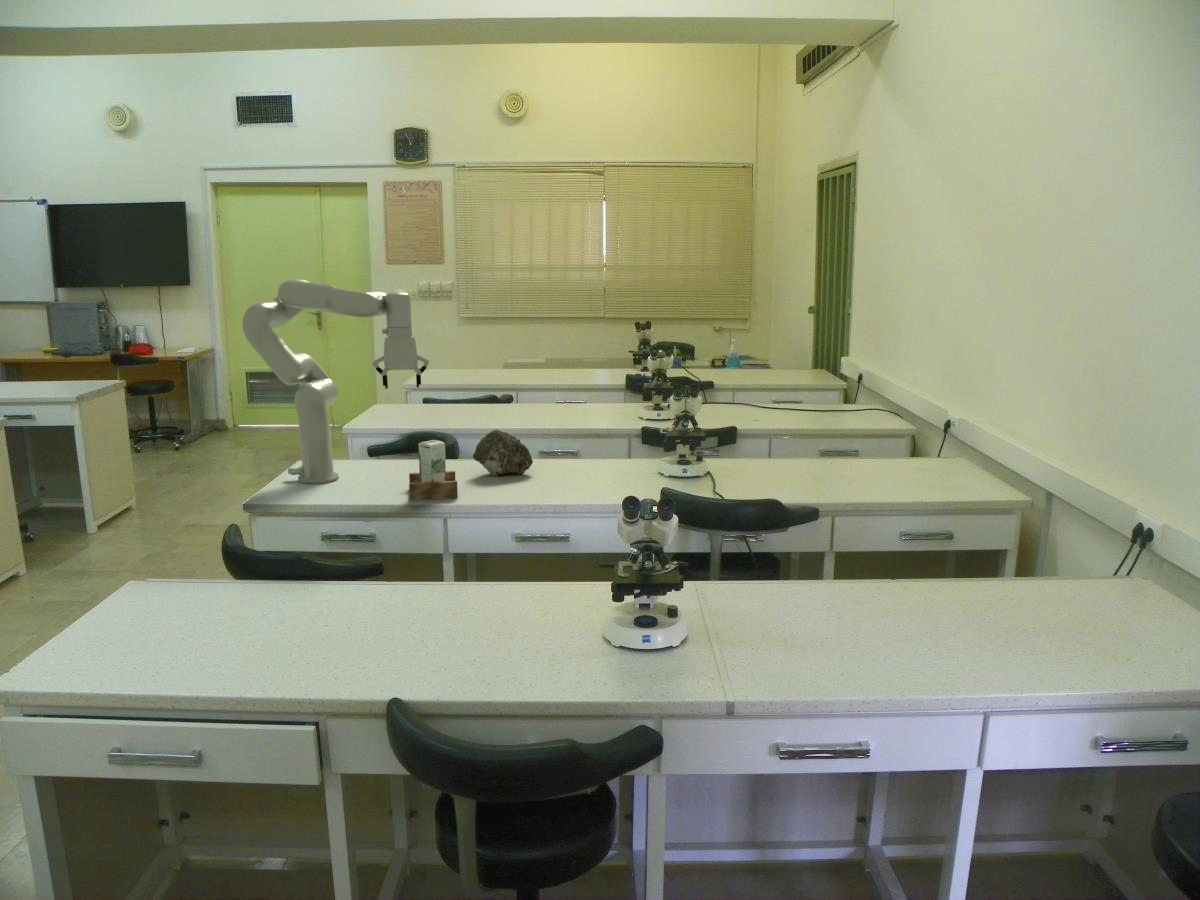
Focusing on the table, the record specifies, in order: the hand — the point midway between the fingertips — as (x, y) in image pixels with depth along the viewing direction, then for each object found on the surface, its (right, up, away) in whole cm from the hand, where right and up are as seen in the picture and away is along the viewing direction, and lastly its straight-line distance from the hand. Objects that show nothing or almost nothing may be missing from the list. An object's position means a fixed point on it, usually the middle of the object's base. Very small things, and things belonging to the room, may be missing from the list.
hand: (402, 387), depth 285 cm
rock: (+31, -27, +18) cm, 45 cm away
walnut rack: (+11, -33, -8) cm, 36 cm away
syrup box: (+11, -32, -8) cm, 35 cm away
